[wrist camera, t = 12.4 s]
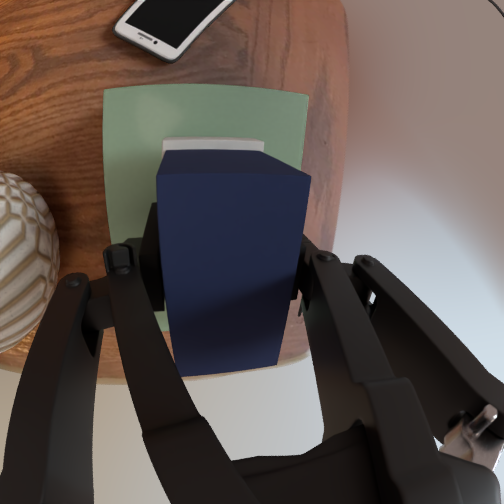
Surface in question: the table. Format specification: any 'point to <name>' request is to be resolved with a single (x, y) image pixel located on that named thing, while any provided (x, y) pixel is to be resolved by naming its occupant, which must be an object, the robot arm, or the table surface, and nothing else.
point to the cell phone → (167, 25)
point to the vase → (25, 258)
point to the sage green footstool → (185, 125)
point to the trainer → (227, 250)
